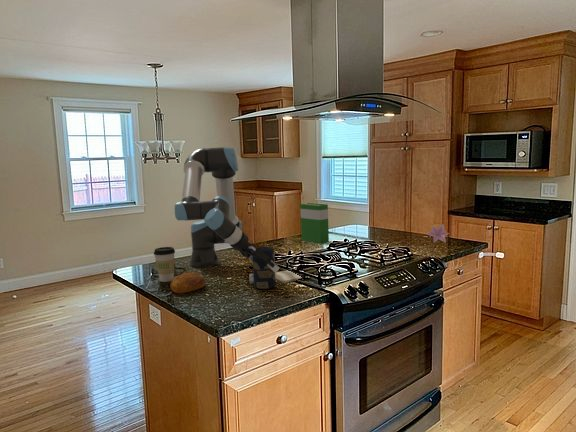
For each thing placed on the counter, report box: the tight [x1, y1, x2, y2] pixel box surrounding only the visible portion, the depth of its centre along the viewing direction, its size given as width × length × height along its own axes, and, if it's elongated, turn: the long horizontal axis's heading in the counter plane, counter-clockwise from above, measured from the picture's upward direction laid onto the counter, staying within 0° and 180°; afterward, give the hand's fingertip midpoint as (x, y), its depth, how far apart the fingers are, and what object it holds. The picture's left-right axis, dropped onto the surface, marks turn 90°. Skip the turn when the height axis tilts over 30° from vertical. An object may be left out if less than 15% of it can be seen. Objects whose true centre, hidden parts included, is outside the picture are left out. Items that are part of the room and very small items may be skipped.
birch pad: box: [275, 269, 302, 284], centre depth 208 cm, size 15×15×1 cm
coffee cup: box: [153, 246, 176, 283], centre depth 210 cm, size 10×10×15 cm
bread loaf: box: [169, 271, 207, 294], centre depth 196 cm, size 14×16×8 cm
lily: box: [426, 223, 450, 243], centre depth 275 cm, size 12×12×10 cm
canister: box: [252, 245, 277, 290], centre depth 192 cm, size 10×10×18 cm
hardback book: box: [299, 202, 330, 245], centre depth 289 cm, size 18×7×24 cm, turn 41°
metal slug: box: [248, 273, 254, 285], centre depth 200 cm, size 4×4×4 cm
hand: (268, 267), depth 194 cm, fingers open, 13 cm apart
